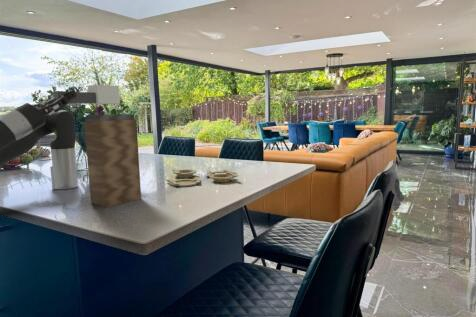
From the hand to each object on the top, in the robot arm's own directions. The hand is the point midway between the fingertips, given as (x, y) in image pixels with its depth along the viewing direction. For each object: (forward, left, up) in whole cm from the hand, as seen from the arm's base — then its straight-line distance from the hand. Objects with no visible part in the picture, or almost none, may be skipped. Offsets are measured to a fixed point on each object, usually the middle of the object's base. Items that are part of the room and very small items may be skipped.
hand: (71, 93), depth 106 cm
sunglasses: (-32, +57, -39) cm, 76 cm away
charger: (+3, +4, -3) cm, 6 cm away
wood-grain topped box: (+6, +11, -38) cm, 40 cm away
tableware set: (+28, +52, -39) cm, 71 cm away
